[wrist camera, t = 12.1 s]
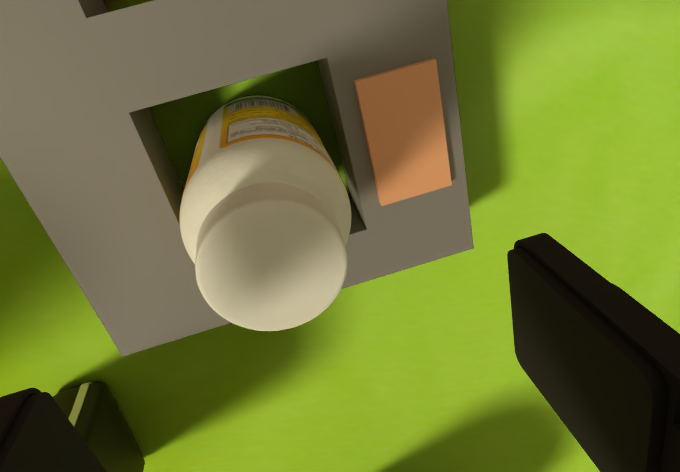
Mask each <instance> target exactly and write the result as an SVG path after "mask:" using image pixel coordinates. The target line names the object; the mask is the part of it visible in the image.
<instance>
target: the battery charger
mask: <svg viewBox="0 0 680 472" xmlns="http://www.w3.org/2000/svg"><path fill="white" fill-rule="evenodd" d="M53 399H54V400H55V401H56V403H57V404H58V405H59V407H60V408H61V410H62V411H63V412H64V414H65V415H66V417H67V418H68V419H69V421H70V422H71V423H72V425H73V426H74V428H75V429H76V430H77V432H78V433H79V434H80V436H81V437H82V439H83V440H84V441H85V443H86V444H87V446H88V447H89V448H90V450H91V451H92V452H93V454H94V455H95V457H96V458H97V459H98V461H99V462H100V463H101V465H102V466H103V468H104V469H105V470H106V472H143V469H144V464H145V461H144V458H143V456H142V454H141V452H140V450H139V448H138V446H137V444H136V442H135V440H134V438H133V436H132V434H131V432H130V430H129V428H128V426H127V424H126V422H125V420H124V418H123V416H122V414H121V412H120V410H119V408H118V407H117V405H116V403H115V401H114V399H113V397H112V395H111V394H110V392H109V390H108V388H107V386H106V385H105V384H104V383H102V382H96V383H92V382H88V383H84V384H81V386H79V387H74V388H70V389H67V390H65V391H63V392H60V393H58V394H56V395H55V396H53Z"/></svg>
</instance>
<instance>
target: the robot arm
mask: <svg viewBox="0 0 680 472" xmlns="http://www.w3.org/2000/svg"><path fill="white" fill-rule="evenodd" d="M508 270H509V282H510V295H511V307H512V320H513V332H514V345H515V353H516V356H517V359H518V361H519V363H520V365H521V367H522V368H523V370H524V371H525V372H526V374H527V375H528V376H529V378H530V379H531V380H532V382H533V383H534V384H535V385H536V387H537V388H538V389H539V391H540V392H541V393H542V395H543V396H544V397H545V399H546V400H547V401H548V403H549V404H550V405H551V407H552V408H553V409H554V411H555V412H556V413H557V415H558V416H559V417H560V419H561V420H562V421H563V423H564V424H565V425H566V427H567V428H568V429H569V431H570V432H571V433H572V435H573V436H574V437H575V439H576V440H577V441H578V443H579V444H580V445H581V447H582V448H583V449H584V451H585V452H586V453H587V455H588V456H589V457H590V459H591V460H592V461H593V463H594V464H595V465H596V467H597V468H598V469H599V471H600V472H680V334H679V333H678V332H676V331H675V330H674V329H672V328H671V327H670V326H669V325H667V324H666V323H665V322H663V321H662V320H661V319H660V318H658V317H657V316H656V315H654V314H653V313H652V312H650V311H649V310H648V309H647V308H645V307H644V306H643V305H641V304H640V303H639V302H637V301H636V300H635V299H634V298H632V297H631V296H630V295H628V294H627V293H626V292H624V291H623V290H622V289H621V288H619V287H617V286H616V285H614V284H612V283H610V282H609V281H607V280H606V279H605V278H604V277H602V276H601V275H600V274H598V273H597V272H596V271H594V270H593V269H592V268H591V267H589V266H588V265H587V264H585V263H584V262H583V261H582V260H580V259H579V258H578V257H576V256H575V255H574V254H573V253H571V252H570V251H569V250H567V249H566V248H565V247H564V246H562V245H561V244H560V243H558V242H557V241H556V240H555V239H553V238H552V237H551V236H549V235H548V234H546V233H541V234H538V235H534V236H531V237H528V238H524V239H521V240H518V241H516V242H515V245H514V249H513V250H510V251H509V252H508ZM0 472H106V470H105V469H104V468H103V466H102V465H101V463H100V462H99V461H98V459H97V458H96V457H95V455H94V454H93V452H92V451H91V450H90V448H89V447H88V446H87V444H86V443H85V441H84V440H83V439H82V437H81V436H80V434H79V433H78V432H77V430H76V429H75V428H74V426H73V425H72V423H71V422H70V421H69V419H68V418H67V417H66V415H65V414H64V412H63V411H62V410H61V408H60V407H59V405H58V404H57V403H56V401H55V400H54V399H53V397H52V396H51V395H50V394H49V393H47V392H41V391H40V390H38V389H36V388H29V389H26V390H22V391H19V392H16V393H12V394H9V395H6V396H3V397H1V398H0Z"/></svg>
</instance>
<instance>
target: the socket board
mask: <svg viewBox="0 0 680 472" xmlns="http://www.w3.org/2000/svg"><path fill="white" fill-rule="evenodd" d="M316 60H318V64H319V68H320V72H321V76H322V81H323V85H324V89H325V93H326V97H327V101H328V105H329V110H330V114H331V118H332V122H333V126H334V130H335V134H336V138H337V143H338V147H339V151H340V155H341V159H342V163H343V167H344V172H345V176H346V180H347V184H348V188H349V192H350V196H351V200H352V202H350V206H351V228H350V233H349V237H348V241H347V244H346V246H345V247H346V251H347V261H348V262H347V273H346V277H345V280H344V283H343V286H342V288H341V289H343V288H346V287H349V286H353V285H356V284H359V283H362V282H366V281H369V280H372V279H375V278H379V277H382V276H385V275H388V274H392V273H395V272H398V271H401V270H404V269H408V268H411V267H414V266H417V265H421V264H424V263H427V262H430V261H434V260H437V259H440V258H443V257H447V256H450V255H453V254H456V253H460V252H463V251H466V250H469V249H473V248H474V246H473V237H472V228H471V218H470V209H469V200H468V191H467V181H466V172H465V163H464V153H463V144H462V135H461V126H460V116H459V107H458V98H457V89H456V79H455V70H454V61H453V52H452V42H451V33H450V24H449V15H448V5H447V0H153V1H149V2H146V3H142V4H138V5H134V6H131V7H127V8H123V9H119V10H115V11H112V12H108V11H107V9H106V7H105V4H104V2H103V0H0V157H1V159H2V160H3V162H4V164H5V165H6V167H7V169H8V170H9V172H10V174H11V175H12V177H13V178H14V180H15V182H16V183H17V185H18V187H19V188H20V190H21V191H22V193H23V195H24V196H25V198H26V200H27V201H28V203H29V205H30V206H31V208H32V209H33V211H34V213H35V214H36V216H37V218H38V219H39V221H40V223H41V224H42V226H43V227H44V229H45V231H46V232H47V234H48V236H49V237H50V239H51V240H52V242H53V244H54V245H55V247H56V249H57V250H58V252H59V254H60V255H61V257H62V258H63V260H64V262H65V263H66V265H67V267H68V268H69V270H70V271H71V273H72V275H73V276H74V278H75V280H76V281H77V283H78V285H79V286H80V288H81V289H82V291H83V293H84V294H85V296H86V298H87V299H88V301H89V302H90V304H91V306H92V307H93V309H94V311H95V312H96V314H97V316H98V317H99V319H100V320H101V322H102V324H103V325H104V327H105V329H106V330H107V332H108V333H109V335H110V337H111V338H112V340H113V342H114V343H115V345H116V347H117V348H118V350H119V351H120V353H121V355H122V356H126V355H129V354H132V353H135V352H139V351H142V350H145V349H148V348H152V347H155V346H158V345H161V344H165V343H168V342H171V341H174V340H178V339H181V338H184V337H187V336H191V335H194V334H197V333H200V332H204V331H207V330H210V329H213V328H216V327H220V326H223V325H226V324H229V323H231V322H229V321H228V320H226V319H224V318H223V317H222V316H220V315H219V314H218V313H216V312H215V311H214V310H213V309H212V308H211V307H210V306H209V305H208V303H207V302H206V300H205V299H204V297H203V295H202V293H201V292H200V289H199V287H198V284H197V280H196V272H195V264H194V263H193V261H192V260H191V258H190V256H189V254H188V253H187V250H186V248H185V246H184V243H183V240H182V236H181V231H180V206H181V201H182V196H183V192H184V189H183V187H182V184H181V182H180V179H179V177H178V175H177V172H176V170H175V168H174V165H173V163H172V161H171V158H170V156H169V154H168V151H167V149H166V147H165V144H164V142H163V140H162V137H161V135H160V133H159V130H158V128H157V126H156V123H155V121H154V119H153V116H152V114H151V112H150V109H149V107H151V106H155V105H158V104H162V103H165V102H169V101H173V100H176V99H180V98H183V97H187V96H191V95H194V94H198V93H201V92H205V91H209V90H212V89H216V88H219V87H223V86H227V85H230V84H234V83H237V82H241V81H245V80H248V79H252V78H255V77H259V76H263V75H266V74H270V73H273V72H277V71H281V70H284V69H288V68H291V67H295V66H299V65H302V64H306V63H309V62H313V61H316Z"/></svg>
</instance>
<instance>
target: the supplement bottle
mask: <svg viewBox="0 0 680 472" xmlns="http://www.w3.org/2000/svg"><path fill="white" fill-rule="evenodd" d="M350 228H351V206H350V201H349V197H348V193H347V190H346V188H345V186H344V183H343V181H342V179H341V177H340V175H339V173H338V171H337V169H336V167H335V166H334V164H333V162H332V160H331V158H330V156H329V154H328V153H327V151H326V149H325V147H324V145H323V143H322V141H321V139H320V137H319V135H318V133H317V131H316V130H315V128H314V126H313V125H312V123H311V122H310V121H309V119H308V118H307V117H306V116H305V115H304V114H303V113H302V112H301V111H300V110H298V109H297V108H295V107H294V106H293V105H291V104H289V103H287V102H285V101H283V100H280V99H277V98H273V97H268V96H258V95H257V96H246V97H242V98H238V99H236V100H233V101H231V102H228V103H227V104H225V105H223V106H222V107H220V108H219V109H218V110H217V111H216V112H214V113H213V114H212V115H211V117H210V118H209V119H208V120H207V122H206V123H205V125H204V127H203V129H202V130H201V133H200V135H199V138H198V141H197V144H196V148H195V152H194V156H193V160H192V164H191V168H190V171H189V175H188V178H187V182H186V185H185V189H184V192H183V196H182V201H181V206H180V231H181V236H182V240H183V243H184V246H185V248H186V250H187V253H188V254H189V256H190V258H191V260H192V261H193V263H194V264H195V272H196V280H197V284H198V287H199V289H200V292H201V293H202V295H203V297H204V299H205V300H206V302H207V303H208V305H209V306H210V307H211V308H212V309H213V310H214V311H215V312H216V313H218V314H219V315H220V316H222V317H223V318H224V319H226V320H228V321H229V322H231V323H233V324H236V325H239V326H241V327H244V328H248V329H252V330H257V331H279V330H284V329H290V328H293V327H296V326H299V325H302V324H304V323H306V322H308V321H310V320H312V319H314V318H315V317H317V316H318V315H319V314H321V313H322V312H323V311H324V310H325V309H326V308H328V307H329V306H330V304H331V303H332V302H333V301H334V300H335V298H336V297H337V295H338V294H339V292H340V290H341V288H342V286H343V283H344V280H345V277H346V273H347V262H348V261H347V251H346V247H345V246H346V244H347V241H348V237H349V233H350Z"/></svg>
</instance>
